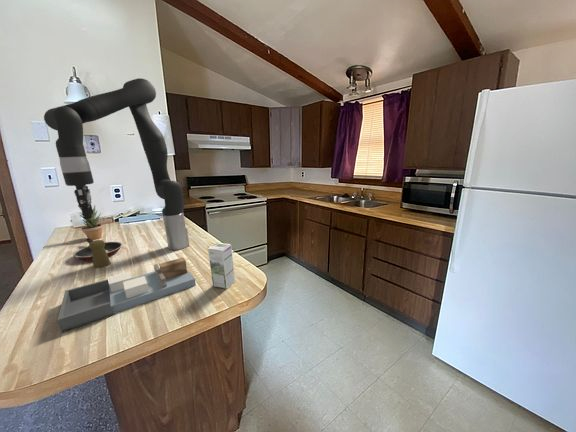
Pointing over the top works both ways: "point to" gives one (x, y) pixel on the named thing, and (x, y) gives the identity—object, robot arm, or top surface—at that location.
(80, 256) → the frying pan
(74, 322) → the tray
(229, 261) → the syrup box
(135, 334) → the top surface
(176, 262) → the scraper
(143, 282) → the tile
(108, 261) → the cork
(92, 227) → the potted plant
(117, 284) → the tile
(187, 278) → the board
